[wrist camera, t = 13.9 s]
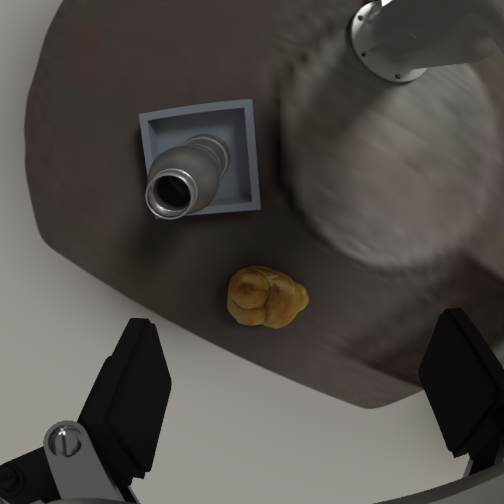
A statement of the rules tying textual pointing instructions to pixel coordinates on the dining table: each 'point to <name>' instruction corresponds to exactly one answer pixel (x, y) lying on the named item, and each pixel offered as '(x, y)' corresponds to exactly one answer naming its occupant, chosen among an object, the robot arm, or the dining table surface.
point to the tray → (223, 126)
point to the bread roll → (265, 297)
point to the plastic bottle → (187, 176)
